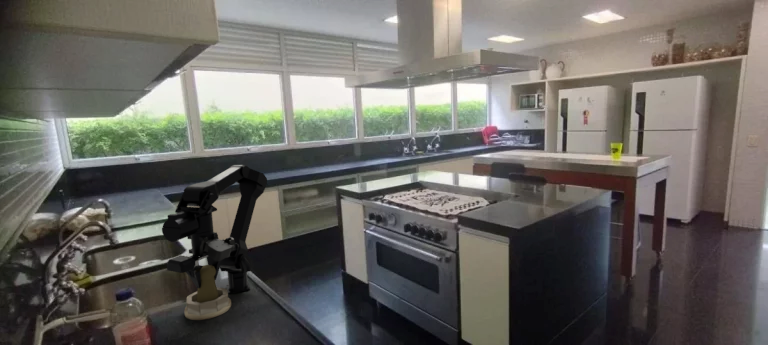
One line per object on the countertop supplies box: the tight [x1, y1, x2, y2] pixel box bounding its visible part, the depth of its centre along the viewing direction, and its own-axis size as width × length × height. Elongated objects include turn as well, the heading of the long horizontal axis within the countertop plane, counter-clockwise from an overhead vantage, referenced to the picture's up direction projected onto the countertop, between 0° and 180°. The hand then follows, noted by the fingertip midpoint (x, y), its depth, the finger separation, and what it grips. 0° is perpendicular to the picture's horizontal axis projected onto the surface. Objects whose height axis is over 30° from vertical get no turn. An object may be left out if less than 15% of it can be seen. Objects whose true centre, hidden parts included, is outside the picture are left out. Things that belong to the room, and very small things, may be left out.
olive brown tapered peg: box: [196, 264, 219, 303], centre depth 102 cm, size 6×6×11 cm
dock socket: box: [183, 286, 232, 321], centre depth 103 cm, size 12×12×4 cm
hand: (206, 283), depth 102 cm, fingers open, 5 cm apart
